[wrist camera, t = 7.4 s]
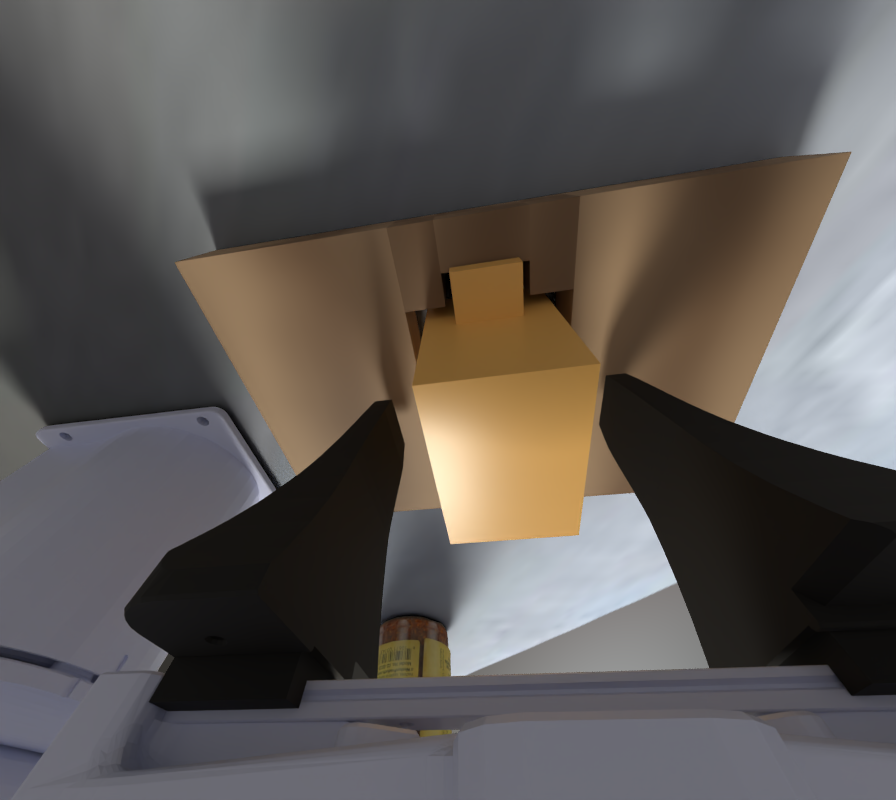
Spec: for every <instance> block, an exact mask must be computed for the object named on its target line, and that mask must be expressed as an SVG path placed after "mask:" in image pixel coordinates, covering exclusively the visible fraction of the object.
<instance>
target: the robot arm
mask: <svg viewBox="0 0 896 800" xmlns="http://www.w3.org/2000/svg"><path fill="white" fill-rule="evenodd" d="M205 418H206V419H205ZM599 426H600V429H601V431H602V434H603V436H604V439H605V441H606V444H607V446H608V448H609V450H610V452H611V454H612V456H613V457H614V459H615V461H616V463H617V464H618V466H619V468H620V469H621V471H622V473H623V474H624V476H625V478H626V479H627V481H628V483H629V484H630V486H631V488H632V489H633V491H634V493H635V494H636V496H637V498H638V499H639V501H640V503H641V505H642V506H643V508H644V510H645V512H646V514H647V516H648V517H649V519H650V521H651V524H652V526H653V528H654V530H655V532H656V534H657V537H658V539H659V541H660V543H661V545H662V548H663V550H664V552H665V555H666V557H667V559H668V562H669V564H670V566H671V569H672V571H673V573H674V576H675V578H676V580H677V583H678V585H679V588H680V590H681V593H682V595H683V598H684V601H685V603H686V606H687V608H688V611H689V613H690V616H691V618H692V621H693V623H694V626H695V629H696V632H697V635H698V637H699V640H700V643H701V646H702V648H703V651H704V654H705V657H706V659H707V662H708V665H709V668H706V669H675V670H674V669H673V670H641V671H608V672H577V673H543V674H511V675H478V676H446V677H413V678H381V679H377V676H378V656H379V636H380V622H381V608H382V595H383V584H384V574H385V564H386V555H387V546H388V537H389V532H390V526H391V521H392V517H393V512H394V508H395V503H396V499H397V494H398V490H399V485H400V480H401V476H402V471H403V462H404V449H405V442H404V439H403V435H402V432H401V428H400V425H399V422H398V418H397V415H396V411H395V408H394V404H393V401H392V400H383V401H375V402H374V403H373V404H372V405H371V406H370V407H369V408H368V409H367V410H366V411H365V412H364V413H363V414H362V415H361V416H360V417H359V419H358V420H357V421H356V422H355V423H354V424H353V425H352V426H351V427H350V428H349V429H348V430H347V431H346V432H345V433H344V434H343V435H342V436H341V437H340V438H339V439H338V440H337V441H336V442H335V443H334V444H333V445H332V446H331V447H329V448H328V449H327V450H326V451H325V452H324V453H323V454H322V455H321V456H320V457H319V458H318V459H316V460H315V461H314V462H313V463H312V464H310V465H309V466H308V467H307V468H305V469H304V470H303V471H302V472H300V473H299V474H298V475H297V476H295V477H294V478H293V479H291V480H290V481H288V482H287V483H286V484H284V485H283V486H281V487H280V488H278V489H277V490H276V488H275V487H274V485H273V484H272V482H271V481H270V479H269V477H268V476H267V474H266V473H265V471H264V470H263V468H262V467H261V465H260V463H259V462H258V460H257V459H256V457H255V456H254V454H253V453H252V451H251V449H250V448H249V446H248V445H247V443H246V442H245V440H244V439H243V437H242V435H241V434H240V432H239V431H238V429H237V428H236V426H235V425H234V423H233V422H232V420H231V418H230V417H229V415H228V414H227V413H226V412H225V411H224V410H223V409H221V408H218V407H205V408H196V409H188V410H179V411H171V412H162V413H154V414H145V415H136V416H128V417H119V418H111V419H102V420H94V421H85V422H76V423H68V424H59V425H51V426H45V427H43V428H41V429H39V430H38V431H37V432H36V436H37V438H38V439H39V440H40V441H41V442H42V443H43V444H44V445H45V446H47V447H48V448H49V449H48V450H47V451H45V452H44V453H42V454H41V455H39V456H38V457H36V458H35V459H33V460H32V461H30V462H29V463H27V464H26V465H24V466H23V467H21V468H20V469H18V470H16V471H15V472H13V473H12V474H10V475H9V476H7V477H6V478H4V479H3V480H1V481H0V800H896V470H892V469H888V468H884V467H880V466H876V465H871V464H867V463H863V462H859V461H855V460H851V459H847V458H843V457H839V456H836V455H832V454H828V453H824V452H821V451H818V450H814V449H811V448H807V447H804V446H801V445H797V444H794V443H791V442H787V441H784V440H781V439H778V438H775V437H772V436H769V435H766V434H763V433H760V432H758V431H755V430H752V429H749V428H746V427H744V426H741V425H738V424H736V423H733V422H731V421H728V420H726V419H723V418H721V417H718V416H716V415H714V414H711V413H709V412H707V411H704V410H702V409H700V408H698V407H696V406H693V405H691V404H689V403H687V402H685V401H683V400H681V399H679V398H676V397H674V396H672V395H670V394H668V393H666V392H664V391H662V390H660V389H658V388H656V387H654V386H652V385H650V384H648V383H646V382H644V381H642V380H640V379H638V378H636V377H633V376H631V375H629V374H626V373H623V374H614V375H606V378H605V385H604V392H603V399H602V406H601V413H600V420H599ZM168 653H169V654H170V655H172V656H173V657H175V658H174V660H173V661H172V663H171V665H170V666H169V668H168V670H167V671H166V673H165V674H164V673H161V672H157V671H158V669H159V667H160V665H161V664H162V662H163V661H164V659H165V657H166V656H167V654H168ZM415 730H460V731H459V732H458V733H453V734H444V735H435V736H427V737H420V736H419V734H418V733H417V731H415Z"/></svg>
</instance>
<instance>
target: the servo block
mask: <svg viewBox="0 0 896 800" xmlns="http://www.w3.org/2000/svg"><path fill="white" fill-rule="evenodd" d="M449 275H450V283H451V290H452V297H453V298H450V299H446V307H440V308H433V309H427V314H426V319H425V324H424V329H423V334H422V339H421V344H420V349H419V354H418V359H417V364H416V368H415V373H414V378H413V383H412V388H413V392H414V396H415V401H416V405H417V409H418V413H419V417H420V421H421V425H422V429H423V433H424V437H425V442H426V446H427V450H428V454H429V458H430V462H431V466H432V470H433V474H434V478H435V483H436V487H437V491H438V495H439V499H440V503H441V507H442V511H443V515H444V519H445V524H446V528H447V532H448V536H449V540H450V544H461V543H475V542H489V541H503V540H517V539H531V538H545V537H559V536H572V535H579V529H580V521H581V513H582V505H583V498H584V490H585V482H586V474H587V466H588V459H589V451H590V443H591V435H592V427H593V420H594V412H595V404H596V396H597V388H598V381H599V373H600V365H601V363H600V362H599V361H598V360H597V358H596V357H595V356H594V355H593V353H592V352H591V351H590V350H589V348H588V347H587V346H586V345H585V343H584V342H583V341H582V340H581V338H580V337H579V336H578V335H577V333H576V332H575V331H574V330H573V328H572V327H571V326H570V325H569V323H568V322H567V321H566V320H565V318H564V317H563V316H562V315H561V313H560V312H559V311H558V310H557V308H556V307H555V306H554V305H553V303H552V302H551V301H550V300H549V298H548V297H547V296H546V295H545V293H542V294H535V295H530V294H529V293H528V291H527V290H526V288H523V261H522V260H521V259H520V258H519V257H517V258H511V259H504V260H497V261H491V262H484V263H478V264H471V265H464V266H458V267H451V268H449Z"/></svg>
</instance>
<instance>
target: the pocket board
mask: <svg viewBox="0 0 896 800" xmlns="http://www.w3.org/2000/svg"><path fill="white" fill-rule="evenodd" d="M850 154H851V152H842V153H829V154H815V155H802V156H788V157H779V158H773V159H767V160H761V161H755V162H749V163H743V164H737V165H730V166H724V167H718V168H712V169H706V170H700V171H694V172H688V173H682V174H676V175H670V176H664V177H658V178H652V179H646V180H639V181H633V182H627V183H621V184H615V185H609V186H603V187H597V188H591V189H585V190H579V191H573V192H567V193H561V194H555V195H548V196H542V197H536V198H530V199H524V200H518V201H512V202H506V203H500V204H494V205H488V206H482V207H476V208H470V209H464V210H457V211H451V212H445V213H439V214H433V215H427V216H421V217H415V218H409V219H403V220H397V221H391V222H385V223H379V224H373V225H366V226H360V227H354V228H348V229H342V230H336V231H330V232H324V233H318V234H312V235H306V236H300V237H294V238H288V239H282V240H275V241H269V242H263V243H257V244H251V245H245V246H239V247H233V248H227V249H221V250H215V251H212V252H208V253H205V254H201V255H198V256H195V257H191V258H188V259H184V260H181V261H177V262H175V264H176V266H177V268H178V269H179V271H180V273H181V275H182V276H183V278H184V280H185V282H186V283H187V285H188V287H189V289H190V290H191V292H192V294H193V296H194V297H195V299H196V301H197V303H198V304H199V306H200V308H201V310H202V311H203V313H204V315H205V316H206V318H207V320H208V322H209V323H210V325H211V327H212V329H213V330H214V332H215V334H216V336H217V337H218V339H219V341H220V343H221V344H222V346H223V348H224V350H225V351H226V353H227V355H228V357H229V358H230V360H231V362H232V364H233V365H234V367H235V369H236V371H237V372H238V374H239V376H240V378H241V379H242V381H243V383H244V385H245V386H246V388H247V390H248V392H249V393H250V395H251V397H252V399H253V400H254V402H255V404H256V406H257V407H258V409H259V411H260V413H261V414H262V416H263V418H264V420H265V421H266V423H267V425H268V427H269V428H270V430H271V432H272V434H273V435H274V437H275V439H276V441H277V442H278V444H279V446H280V447H281V449H282V451H283V453H284V454H285V456H286V458H287V460H288V461H289V463H290V465H291V467H292V468H293V470H294V472H295V474H296V475H298V474H299V473H300V472H302V471H303V470H304V469H305V468H307V467H308V466H309V465H310V464H312V463H313V462H314V461H315V460H316V459H318V458H319V457H320V456H321V455H322V454H323V453H324V452H325V451H326V450H327V449H328V448H329V447H331V446H332V445H333V444H334V443H335V442H336V441H337V440H338V439H339V438H340V437H341V436H342V435H343V434H344V433H345V432H346V431H347V430H348V429H349V428H350V427H351V426H352V425H353V424H354V423H355V422H356V421H357V420H358V419H359V417H360V416H361V415H362V414H363V413H364V412H365V411H366V410H367V409H368V408H369V407H370V406H371V405H372V404H373V403H374V402H375V401H383V400H392V401H393V404H394V408H395V411H396V415H397V418H398V422H399V425H400V428H401V432H402V435H403V439H404V442H405V449H404V462H403V471H402V476H401V480H400V485H399V490H398V494H397V499H396V503H395V508H394V512H396V511H409V510H422V509H434V508H442V507H441V503H440V499H439V495H438V491H437V487H436V483H435V478H434V474H433V470H432V466H431V462H430V458H429V454H428V450H427V446H426V442H425V437H424V433H423V429H422V425H421V421H420V417H419V413H418V409H417V405H416V401H415V396H414V392H413V388H412V383H413V378H414V373H415V368H416V364H417V359H418V354H419V349H420V344H421V337H420V332H419V327H418V322H417V317H416V312H415V311H418V310H426V309H433V308H440V307H446V295H447V286H446V279H445V273H448V272H449V268H451V267H458V266H464V265H471V264H478V263H484V262H491V261H497V260H504V259H511V258H517V257H519V258H520V259H521V260H522V261H523V285H524V287H525V288H526V290H527V291H528V293H529V294H530V295H535V294H542V293H549V292H556V300H555V307H556V308H557V310H558V311H559V312H560V313H561V315H562V316H563V317H564V318H565V320H566V321H567V322H568V323H569V325H570V326H571V327H572V328H573V330H574V331H575V332H576V333H577V335H578V336H579V337H580V338H581V340H582V341H583V342H584V343H585V345H586V346H587V347H588V348H589V350H590V351H591V352H592V353H593V355H594V356H595V357H596V358H597V360H598V361H599V362H600V363H601V365H600V373H599V381H598V388H597V396H596V404H595V412H594V420H593V427H592V435H591V443H590V451H589V459H588V466H587V474H586V482H585V490H584V497H585V496H597V495H610V494H623V493H634V491H633V489H632V488H631V486H630V484H629V483H628V481H627V479H626V478H625V476H624V474H623V473H622V471H621V469H620V468H619V466H618V464H617V463H616V461H615V459H614V457H613V456H612V454H611V452H610V450H609V448H608V446H607V444H606V441H605V439H604V436H603V434H602V431H601V429H600V426H599V420H600V413H601V406H602V399H603V392H604V385H605V378H606V375H614V374H623V373H626V374H629V375H631V376H633V377H636V378H638V379H640V380H642V381H644V382H646V383H648V384H650V385H652V386H654V387H656V388H658V389H660V390H662V391H664V392H666V393H668V394H670V395H672V396H674V397H676V398H679V399H681V400H683V401H685V402H687V403H689V404H691V405H693V406H696V407H698V408H700V409H702V410H704V411H707V412H709V413H711V414H714V415H716V416H718V417H721V418H723V419H726V420H728V421H731V422H733V423H734V422H735V420H736V417H737V415H738V413H739V410H740V408H741V406H742V404H743V401H744V399H745V397H746V394H747V392H748V390H749V387H750V385H751V383H752V380H753V378H754V376H755V374H756V371H757V369H758V367H759V364H760V362H761V360H762V357H763V355H764V353H765V350H766V348H767V346H768V344H769V341H770V339H771V337H772V334H773V332H774V330H775V327H776V325H777V323H778V320H779V318H780V316H781V313H782V311H783V309H784V307H785V304H786V302H787V300H788V297H789V295H790V293H791V290H792V288H793V286H794V283H795V281H796V279H797V277H798V274H799V272H800V270H801V267H802V265H803V263H804V260H805V258H806V256H807V253H808V251H809V249H810V247H811V244H812V242H813V240H814V237H815V235H816V233H817V230H818V228H819V226H820V223H821V221H822V219H823V217H824V214H825V212H826V210H827V207H828V205H829V203H830V200H831V198H832V196H833V193H834V191H835V189H836V187H837V184H838V182H839V180H840V177H841V175H842V173H843V170H844V168H845V166H846V163H847V161H848V159H849V157H850Z"/></svg>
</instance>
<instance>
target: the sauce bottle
mask: <svg viewBox="0 0 896 800" xmlns="http://www.w3.org/2000/svg"><path fill="white" fill-rule="evenodd" d="M446 676H451V666H450V650H449V648H448V637H447V632H446V629H445V627H444V626H443V625H442V623H439V622H435V621H433V620H429V619H427V618H425V617H420V616H404V617H398V618H393V619H391V620H388V621H385V622H384V623H383V624H382V625H381V626H380V636H379V656H378V676H377V679H381V678H413V677H446ZM415 731H417V733H418V734H419V736H420V737H427V736H435V735H444V734H452V730H415Z"/></svg>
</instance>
